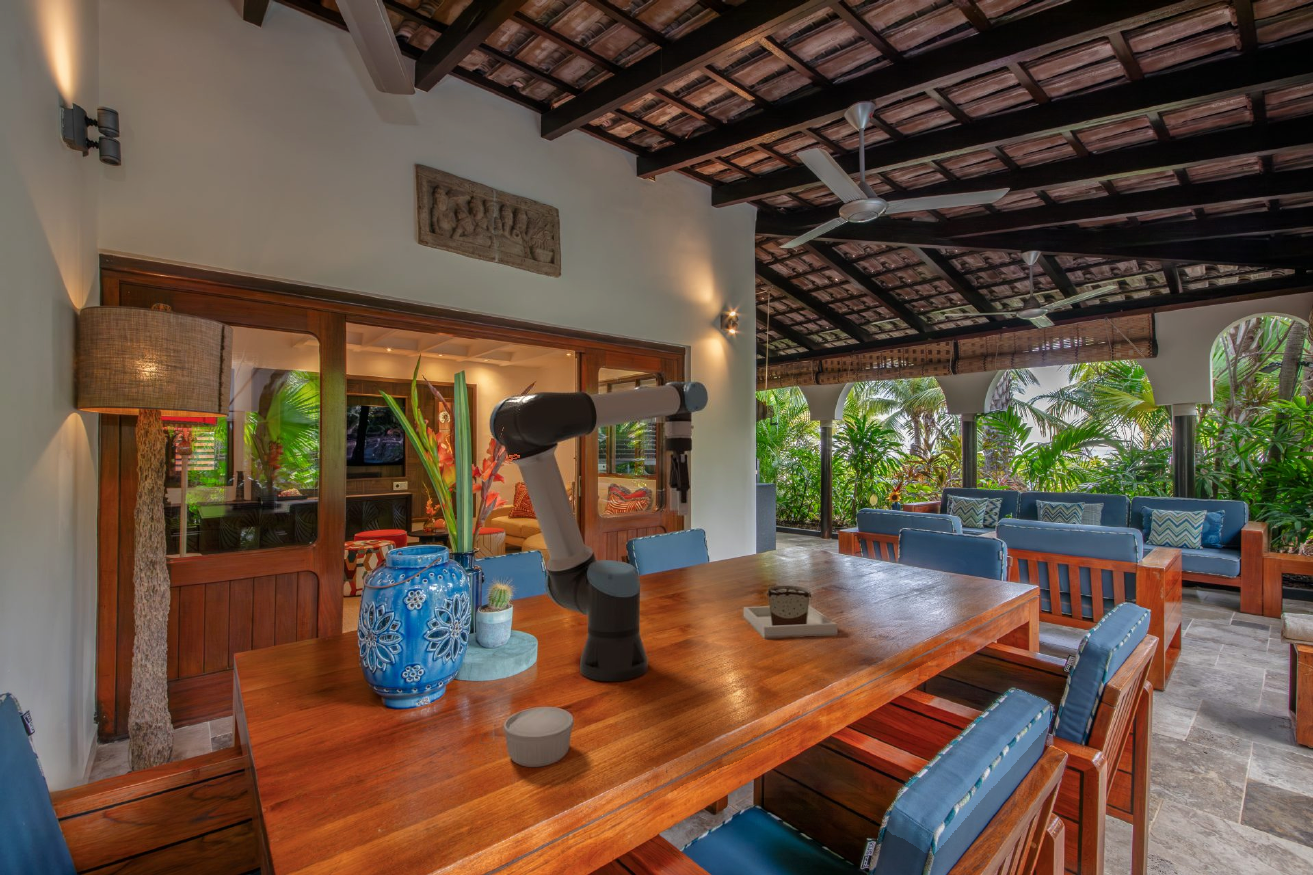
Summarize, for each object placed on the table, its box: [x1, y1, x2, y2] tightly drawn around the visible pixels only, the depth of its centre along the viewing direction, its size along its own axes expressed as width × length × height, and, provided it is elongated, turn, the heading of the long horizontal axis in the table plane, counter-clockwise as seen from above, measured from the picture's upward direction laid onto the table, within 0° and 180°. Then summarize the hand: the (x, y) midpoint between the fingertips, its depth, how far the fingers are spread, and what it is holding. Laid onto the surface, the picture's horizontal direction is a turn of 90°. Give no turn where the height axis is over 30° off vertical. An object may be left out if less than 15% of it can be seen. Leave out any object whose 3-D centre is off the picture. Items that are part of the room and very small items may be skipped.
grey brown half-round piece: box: [765, 585, 812, 626], centre depth 164 cm, size 12×6×10 cm, turn 85°
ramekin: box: [503, 706, 574, 768], centre depth 95 cm, size 11×11×5 cm
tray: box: [743, 604, 839, 640], centre depth 164 cm, size 20×20×3 cm
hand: (679, 512), depth 165 cm, fingers open, 13 cm apart
